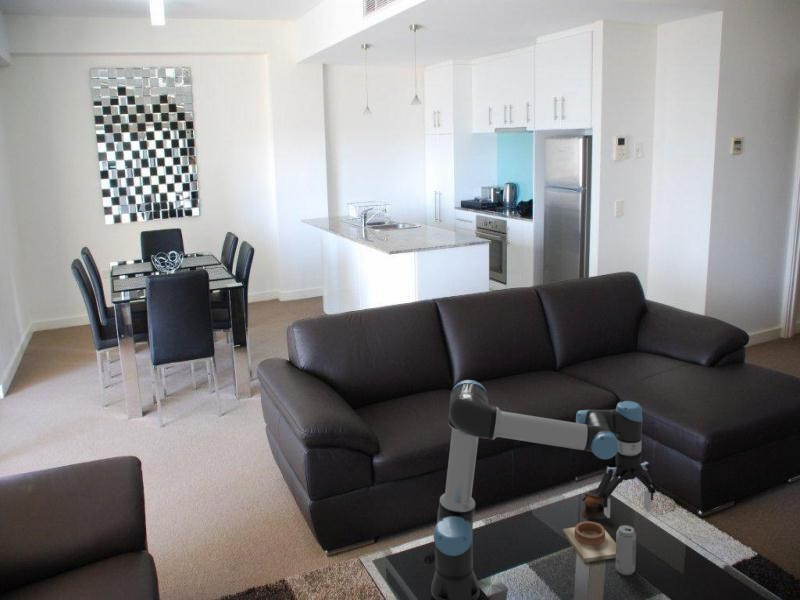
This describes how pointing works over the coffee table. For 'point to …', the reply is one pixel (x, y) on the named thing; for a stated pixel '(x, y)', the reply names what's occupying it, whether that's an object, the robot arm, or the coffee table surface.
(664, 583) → the coffee table surface
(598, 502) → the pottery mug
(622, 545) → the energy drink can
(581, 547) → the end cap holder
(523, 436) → the robot arm
